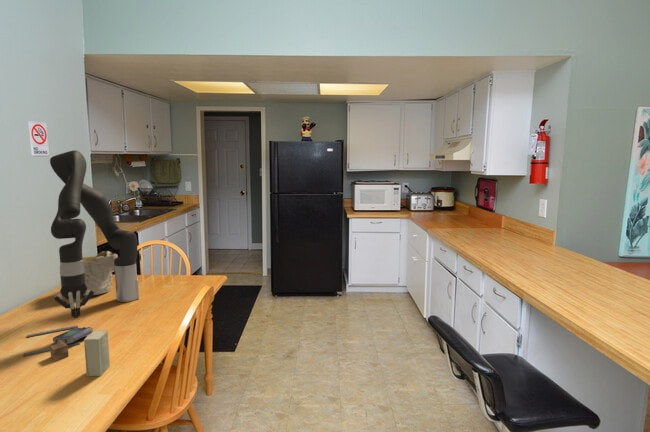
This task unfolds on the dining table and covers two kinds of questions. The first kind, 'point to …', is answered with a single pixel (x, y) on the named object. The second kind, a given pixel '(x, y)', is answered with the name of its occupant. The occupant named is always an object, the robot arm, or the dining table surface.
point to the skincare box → (97, 353)
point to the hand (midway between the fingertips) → (76, 317)
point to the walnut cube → (59, 351)
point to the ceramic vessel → (99, 272)
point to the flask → (72, 335)
